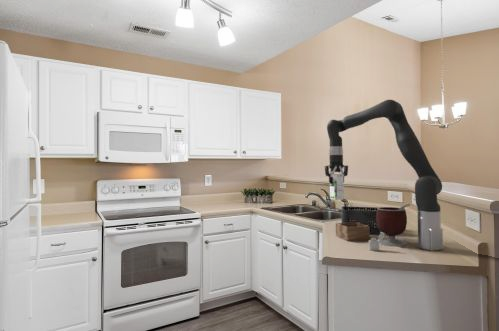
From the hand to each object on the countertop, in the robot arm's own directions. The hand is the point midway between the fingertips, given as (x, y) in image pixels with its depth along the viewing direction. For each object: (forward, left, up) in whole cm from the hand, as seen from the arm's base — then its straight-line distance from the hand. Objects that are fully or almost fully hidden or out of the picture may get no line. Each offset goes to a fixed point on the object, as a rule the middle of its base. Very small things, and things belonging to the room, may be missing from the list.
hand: (336, 183), depth 179 cm
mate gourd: (-29, -15, -29) cm, 44 cm away
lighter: (-38, 0, -29) cm, 48 cm away
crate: (-13, -2, -29) cm, 32 cm away
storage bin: (+3, -21, -29) cm, 36 cm away
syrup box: (0, 0, -9) cm, 9 cm away
